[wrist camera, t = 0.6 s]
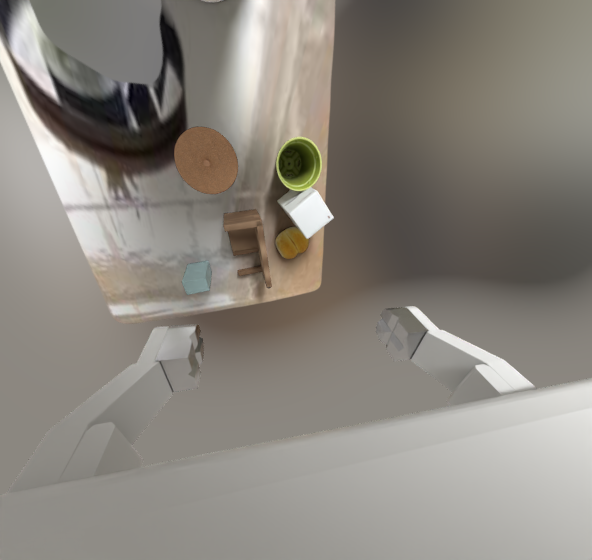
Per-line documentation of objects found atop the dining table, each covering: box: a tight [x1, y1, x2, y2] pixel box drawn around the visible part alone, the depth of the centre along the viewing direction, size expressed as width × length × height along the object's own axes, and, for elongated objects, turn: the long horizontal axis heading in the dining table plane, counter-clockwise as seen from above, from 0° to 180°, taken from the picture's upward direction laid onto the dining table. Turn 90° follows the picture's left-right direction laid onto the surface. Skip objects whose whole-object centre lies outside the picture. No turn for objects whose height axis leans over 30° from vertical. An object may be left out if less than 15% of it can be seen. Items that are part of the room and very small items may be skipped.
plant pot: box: [276, 137, 322, 191], centre depth 46 cm, size 9×9×9 cm
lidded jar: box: [174, 127, 238, 194], centre depth 41 cm, size 11×11×9 cm
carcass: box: [224, 209, 272, 288], centre depth 52 cm, size 18×8×10 cm, turn 5°
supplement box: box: [277, 187, 334, 239], centre depth 49 cm, size 7×7×13 cm
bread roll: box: [275, 227, 309, 259], centre depth 58 cm, size 8×9×4 cm
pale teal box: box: [182, 261, 212, 295], centre depth 53 cm, size 5×5×9 cm
